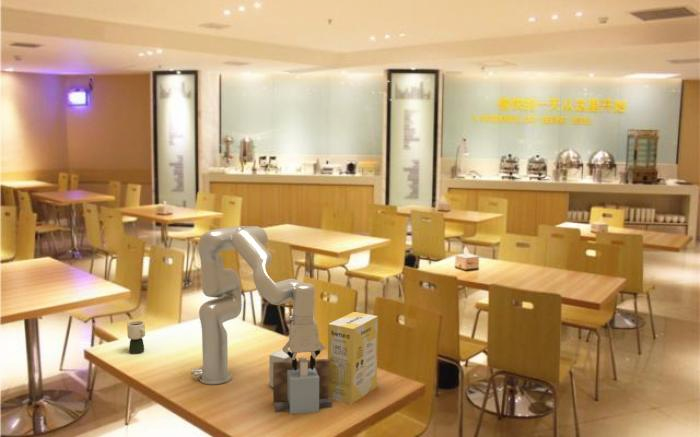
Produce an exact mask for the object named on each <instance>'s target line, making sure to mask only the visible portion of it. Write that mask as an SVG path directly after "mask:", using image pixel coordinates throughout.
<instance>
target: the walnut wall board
mask: <svg viewBox="0 0 700 437" xmlns="http://www.w3.org/2000/svg"><path fill="white" fill-rule="evenodd" d="M307 362H308V368H310V359H307ZM313 368H315V369H316V371H317V374H318V376H319V409H328V408H333V401H332V399H331V398H329V359H328V358H319V359H316V358H315V366H313ZM292 369H294V368H292V361H285V362H273V387H272V389H273V390H272V395H273V396H272V397H273V398H272V404H274V411H275V413H277V412H278V413H279V412H290V404H289V402H287V370H292ZM297 369H299V360H297Z"/></svg>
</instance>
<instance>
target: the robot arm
mask: <svg viewBox="0 0 700 437" xmlns="http://www.w3.org/2000/svg"><path fill="white" fill-rule="evenodd" d="M268 240H269V238H268V234H267V232H266V230H265V229H263V228H262V227H260V226H257V225H256V226H255V225H254V226H253V225H250V226H249V225H244V226H243V225H234V226H229V227H219V228H217V229H216V228H215V229H211V230H208V231H205V232H204V233H203V234H201V236H200V237H199V239H198V242H197V243H198V244H197V249H198V255H199V260H200V275H201V277H200V278H201V289H202V290H201V291H202V292H203V294H204V295H205V297H208V298H214V299H209V300H208V301H206V302H204V303H202V305H201V306H200V308H199V310H198V316H199V320H200V321H199V322H200V325H201V326H200V328H201V342H202V344H201V345H202V348H201V349H202V365H201V367H200V368H198V369H197V368H196V369H195V368H191V369H190V374H191V375H193V376H194V377H198V380H199V382H200V383H203V384H205V385H221V384H226V383H228V382H229V381H231V379H233V378H232V377H233V374H232V373H231V372H230V371H228V370H229V367H228V361H229V360H228V359H229V357H228V351H229V349H228V332H227V330H226V328H225V326H224V325H223V324H224V323H225V322H227V321H231V320H234V319H236V318H238V317H239V316H240V315H241V313H242V308H243V306H242V305H243V303H242V300H243V299H242V282H241V277H240V275H239V273H238V272H237V271H236V270H235V269H233V268H231V267H229V268H224V264H225V263H224V259H223V257H222V254H221V252H223V251H224V252H225V251H230V250H235V251H236V252H237V253H238V254H239V255H240V256H241V258H242V259H243V260H244V261H245V263H247V264H248V266H249V267H250V268H251V269H252V276H253V282H254V285H255V287H256V289H257V291H258V292H259V294H260V295H261V296H262V297H263V298H264V299H265V300H266V302H268V303H269V304H271V305H274V306H277V305H281V304H284V303H288V302H291V301H292V314H291V315H289V316H288V320H289V321H291V323H290V327H289V333H288V334H289V335H288V341H287V342H286V343H285V345H284V346H283V347H282V349H281V350H283V352H285V353H286V354H287V355H288V356H289V357H291V358H292V368H294V370H295V371H296V370H297V361H298V360H297V356H298V355H297V354H298V353H299V354H300V353H301V354H302V353H310V354H311V355H310V357H309V360H310V368H311V369H312V370H313V366H315V360H316V358H317V356H319V355H320V354H321V352H323V351H324V349H325V348H326V347H325V345H324V344H323V343H322V342H321V341H320V339H319V338H320V337H319V329H318V328H319V326H318V322H317V321H315V314H316V310H315V306H316V303H315V302H316V288H315V285H314V284H313V283H310V282H302V281H300V280H299V279H295V278H288V279H287V278H286V279H285V280H281V281H277V282H275V281H274V280H273V279H272V278H271V276H269V274H268V272H267V268H268V267H269V265H270V263H272V260H273V256H272V253H271V252H270V251H269V250H268V249H267V248H266V247H265V246H266V245H267V244H268ZM221 295H222V296H221ZM218 296H221V297H218ZM215 297H216V298H215ZM291 352H292V353H291Z"/></svg>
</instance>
